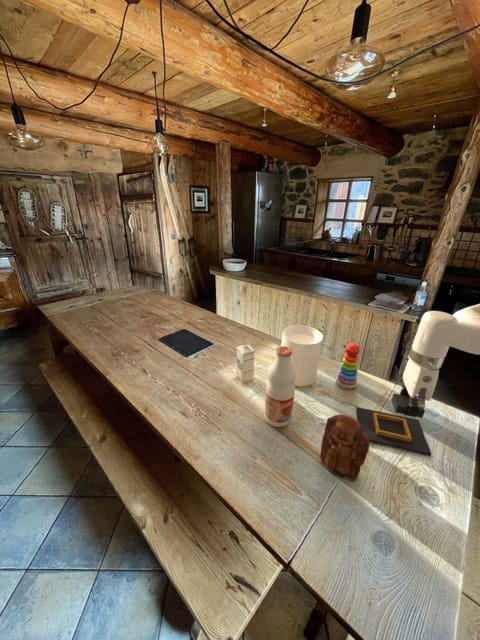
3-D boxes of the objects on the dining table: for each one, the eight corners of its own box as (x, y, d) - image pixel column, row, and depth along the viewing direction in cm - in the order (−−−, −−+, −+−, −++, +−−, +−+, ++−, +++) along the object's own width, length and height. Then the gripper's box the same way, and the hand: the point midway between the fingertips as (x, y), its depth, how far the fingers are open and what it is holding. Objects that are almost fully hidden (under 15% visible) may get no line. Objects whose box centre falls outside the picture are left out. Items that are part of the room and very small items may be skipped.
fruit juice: (267, 404, 99) (272, 339, 87) (292, 411, 96) (301, 345, 84) (260, 423, 91) (265, 354, 79) (288, 431, 88) (297, 361, 76)
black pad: (416, 404, 80) (419, 398, 79) (422, 418, 76) (425, 411, 75) (391, 399, 82) (393, 393, 81) (395, 412, 77) (397, 405, 76)
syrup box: (254, 379, 112) (255, 350, 106) (242, 383, 110) (242, 353, 104) (248, 371, 117) (249, 343, 110) (236, 375, 114) (236, 346, 108)
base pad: (417, 421, 92) (419, 416, 91) (430, 456, 80) (433, 450, 79) (356, 408, 98) (357, 403, 97) (359, 439, 86) (361, 433, 84)
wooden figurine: (314, 464, 78) (323, 418, 70) (321, 448, 82) (330, 404, 75) (356, 486, 72) (372, 440, 64) (361, 468, 77) (376, 422, 69)
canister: (292, 390, 106) (298, 348, 97) (271, 368, 119) (274, 329, 110) (324, 380, 112) (331, 339, 103) (300, 360, 125) (306, 322, 116)
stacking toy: (357, 381, 112) (367, 343, 103) (353, 392, 106) (363, 352, 97) (338, 375, 115) (346, 337, 107) (333, 385, 109) (341, 346, 101)
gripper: (455, 378, 63) (430, 433, 70) (431, 343, 77) (412, 391, 85) (419, 372, 64) (399, 426, 72) (402, 339, 79) (387, 386, 87)
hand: (406, 407), depth 79 cm, fingers closed on black pad, 5 cm apart
